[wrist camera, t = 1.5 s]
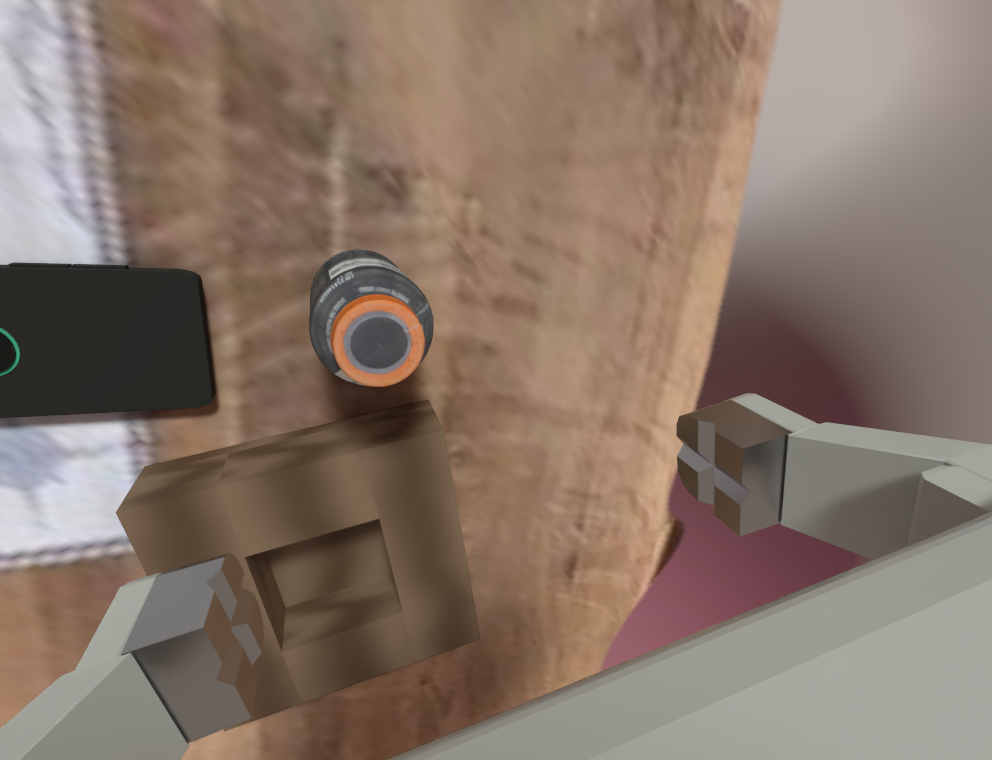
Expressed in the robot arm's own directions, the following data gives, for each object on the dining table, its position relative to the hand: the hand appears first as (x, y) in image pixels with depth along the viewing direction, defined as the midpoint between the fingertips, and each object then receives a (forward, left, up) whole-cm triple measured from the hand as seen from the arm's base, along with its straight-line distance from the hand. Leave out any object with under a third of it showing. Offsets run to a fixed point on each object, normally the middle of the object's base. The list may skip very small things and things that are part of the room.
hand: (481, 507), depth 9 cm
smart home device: (-20, 0, -26) cm, 33 cm away
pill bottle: (-1, -1, -26) cm, 26 cm away
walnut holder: (-7, -18, -26) cm, 32 cm away
